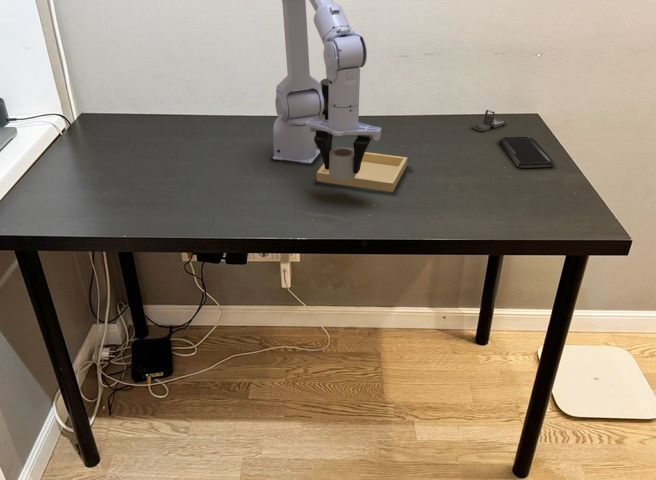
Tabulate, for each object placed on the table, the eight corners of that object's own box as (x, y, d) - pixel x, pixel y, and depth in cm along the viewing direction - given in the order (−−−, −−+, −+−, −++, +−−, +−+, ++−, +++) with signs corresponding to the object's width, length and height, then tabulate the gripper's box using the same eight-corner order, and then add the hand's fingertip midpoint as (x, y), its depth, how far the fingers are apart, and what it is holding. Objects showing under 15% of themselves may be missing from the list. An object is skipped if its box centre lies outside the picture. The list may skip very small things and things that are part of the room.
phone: (531, 136, 155) (554, 162, 143) (530, 141, 156) (553, 167, 143) (498, 137, 155) (518, 163, 143) (498, 142, 156) (518, 168, 143)
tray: (316, 183, 139) (316, 172, 138) (335, 158, 150) (335, 148, 148) (392, 194, 134) (393, 183, 133) (406, 168, 145) (407, 157, 143)
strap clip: (495, 121, 167) (498, 105, 165) (504, 125, 165) (507, 108, 163) (471, 128, 163) (473, 112, 161) (480, 132, 161) (482, 115, 159)
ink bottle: (319, 120, 170) (319, 75, 163) (353, 122, 168) (354, 76, 162) (313, 134, 162) (312, 87, 155) (348, 136, 160) (349, 88, 154)
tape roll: (325, 178, 128) (325, 155, 125) (333, 167, 132) (333, 145, 130) (351, 182, 126) (352, 159, 124) (359, 171, 131) (359, 148, 128)
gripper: (300, 105, 120) (301, 172, 128) (376, 114, 116) (372, 182, 123) (312, 93, 126) (312, 158, 133) (385, 101, 121) (381, 168, 129)
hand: (342, 169), depth 129 cm, fingers closed on tape roll, 5 cm apart
